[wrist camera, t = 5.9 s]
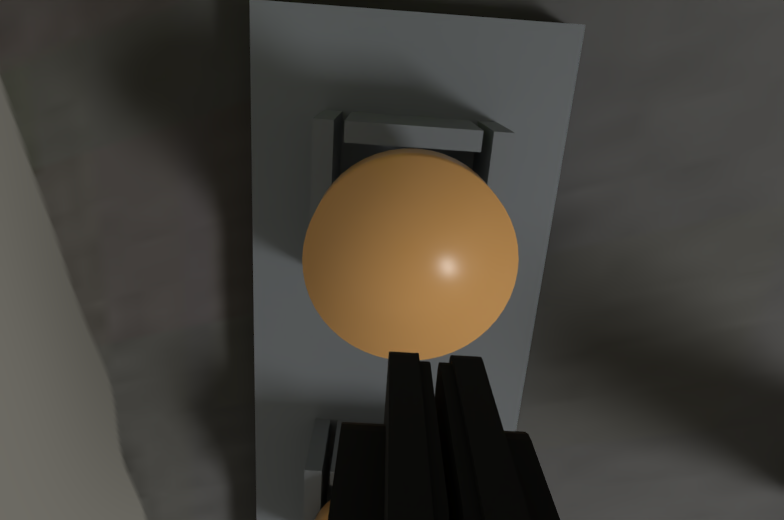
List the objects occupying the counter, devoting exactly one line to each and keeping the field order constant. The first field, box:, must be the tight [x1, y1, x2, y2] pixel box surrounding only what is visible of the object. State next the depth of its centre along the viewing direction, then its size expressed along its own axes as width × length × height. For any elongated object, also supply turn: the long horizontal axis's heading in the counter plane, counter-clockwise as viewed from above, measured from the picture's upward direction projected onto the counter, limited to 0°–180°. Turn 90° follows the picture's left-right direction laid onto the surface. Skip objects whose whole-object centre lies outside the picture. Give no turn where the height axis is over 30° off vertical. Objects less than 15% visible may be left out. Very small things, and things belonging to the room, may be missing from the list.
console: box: [249, 0, 585, 520], centre depth 28 cm, size 32×14×6 cm, turn 176°
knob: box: [302, 148, 519, 360], centre depth 20 cm, size 7×7×6 cm
